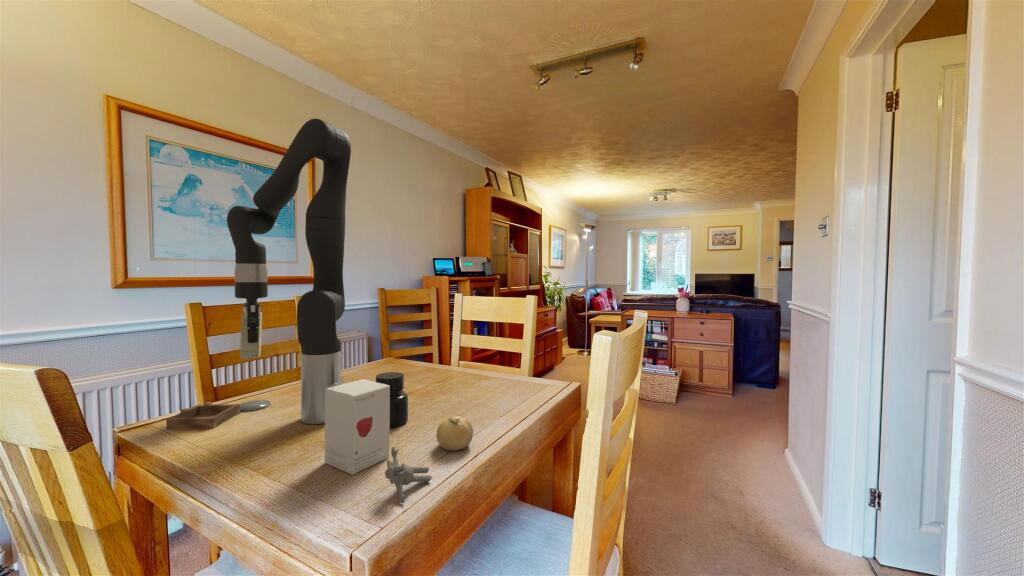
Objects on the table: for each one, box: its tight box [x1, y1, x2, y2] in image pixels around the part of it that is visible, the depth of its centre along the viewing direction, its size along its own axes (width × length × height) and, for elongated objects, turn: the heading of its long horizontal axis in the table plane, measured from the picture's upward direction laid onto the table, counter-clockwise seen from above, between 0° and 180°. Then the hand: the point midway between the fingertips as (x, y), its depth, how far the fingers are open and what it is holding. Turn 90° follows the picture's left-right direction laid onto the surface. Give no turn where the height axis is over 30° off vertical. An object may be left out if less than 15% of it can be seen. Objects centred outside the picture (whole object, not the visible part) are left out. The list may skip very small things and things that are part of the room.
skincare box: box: [239, 311, 263, 359], centre depth 106 cm, size 6×4×12 cm
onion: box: [435, 415, 474, 451], centre depth 84 cm, size 8×8×7 cm
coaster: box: [239, 399, 271, 413], centre depth 107 cm, size 8×8×1 cm
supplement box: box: [324, 378, 391, 476], centre depth 77 cm, size 9×9×15 cm
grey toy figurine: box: [384, 446, 433, 505], centre depth 67 cm, size 10×6×9 cm
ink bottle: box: [375, 371, 409, 429], centre depth 97 cm, size 10×9×12 cm
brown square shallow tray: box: [165, 401, 241, 430], centre depth 97 cm, size 10×10×3 cm
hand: (252, 340), depth 106 cm, fingers closed on skincare box, 6 cm apart
